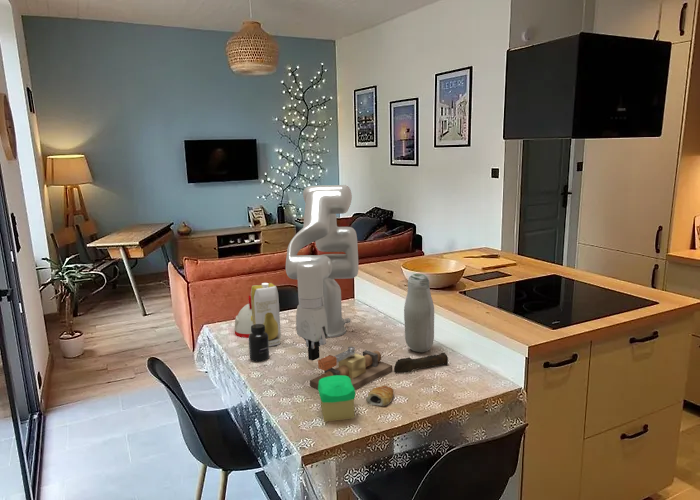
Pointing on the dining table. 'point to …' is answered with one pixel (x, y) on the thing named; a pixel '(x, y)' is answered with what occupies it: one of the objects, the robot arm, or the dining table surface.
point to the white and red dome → (244, 321)
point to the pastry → (380, 396)
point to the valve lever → (335, 359)
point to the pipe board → (364, 376)
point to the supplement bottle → (258, 343)
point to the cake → (336, 397)
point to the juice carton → (266, 310)
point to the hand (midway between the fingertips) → (314, 358)
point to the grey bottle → (419, 314)
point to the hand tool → (419, 363)
